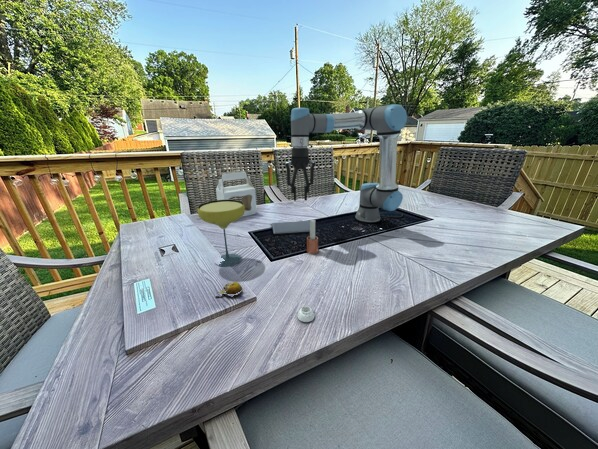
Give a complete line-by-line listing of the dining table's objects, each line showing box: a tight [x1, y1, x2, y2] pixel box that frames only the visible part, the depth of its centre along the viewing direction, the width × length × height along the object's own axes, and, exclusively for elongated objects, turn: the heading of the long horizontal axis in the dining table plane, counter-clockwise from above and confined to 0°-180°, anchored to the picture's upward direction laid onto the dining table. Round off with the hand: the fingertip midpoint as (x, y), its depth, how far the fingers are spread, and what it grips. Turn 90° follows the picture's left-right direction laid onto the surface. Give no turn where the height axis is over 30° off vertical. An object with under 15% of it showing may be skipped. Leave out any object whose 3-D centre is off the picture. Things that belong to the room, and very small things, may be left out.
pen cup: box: [306, 235, 319, 254], centre depth 113 cm, size 5×5×7 cm
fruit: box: [217, 281, 243, 299], centre depth 85 cm, size 8×8×4 cm
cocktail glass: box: [197, 199, 245, 268], centre depth 103 cm, size 18×18×25 cm
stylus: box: [309, 219, 316, 240], centre depth 112 cm, size 2×2×15 cm
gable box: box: [215, 171, 258, 218], centre depth 162 cm, size 22×13×28 cm, turn 127°
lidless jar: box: [297, 305, 315, 323], centre depth 74 cm, size 5×3×5 cm
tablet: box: [271, 220, 310, 236], centre depth 142 cm, size 23×17×1 cm
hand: (300, 199), depth 114 cm, fingers open, 4 cm apart
